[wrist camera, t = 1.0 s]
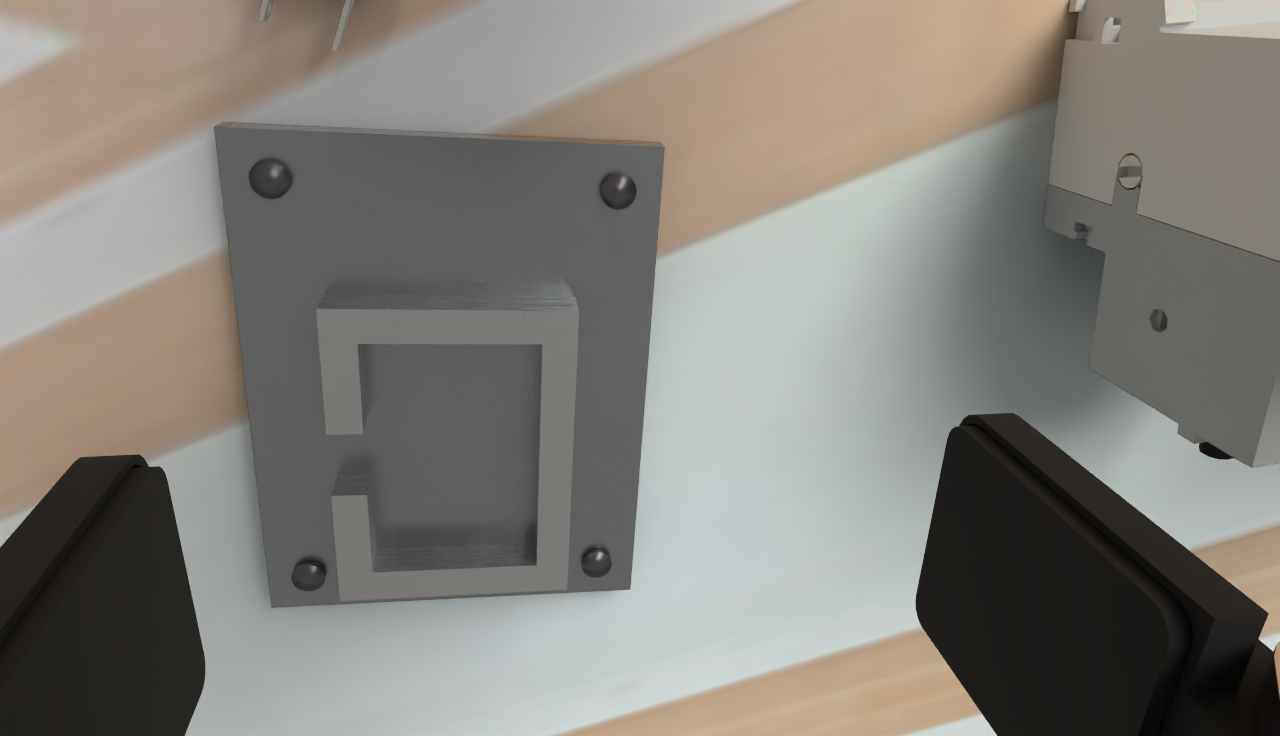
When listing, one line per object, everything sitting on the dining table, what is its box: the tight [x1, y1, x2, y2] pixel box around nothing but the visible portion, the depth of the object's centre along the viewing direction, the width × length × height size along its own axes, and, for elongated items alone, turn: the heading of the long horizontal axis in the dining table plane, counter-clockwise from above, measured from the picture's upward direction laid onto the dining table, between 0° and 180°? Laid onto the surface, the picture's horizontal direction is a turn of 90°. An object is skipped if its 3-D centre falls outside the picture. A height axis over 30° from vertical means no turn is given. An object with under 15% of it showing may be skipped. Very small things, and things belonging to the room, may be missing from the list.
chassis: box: [214, 122, 665, 608], centre depth 31 cm, size 18×14×2 cm
